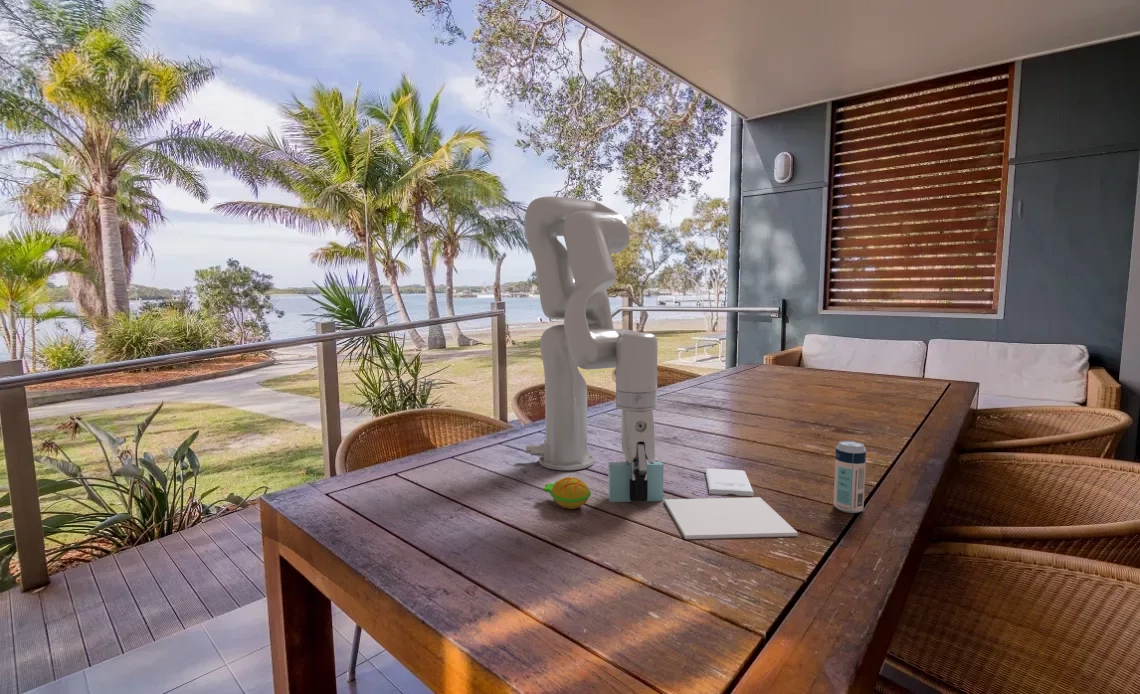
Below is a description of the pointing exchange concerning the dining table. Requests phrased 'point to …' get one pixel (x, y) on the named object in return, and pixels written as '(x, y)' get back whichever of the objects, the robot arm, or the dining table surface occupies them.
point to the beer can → (849, 476)
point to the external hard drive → (728, 482)
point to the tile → (621, 481)
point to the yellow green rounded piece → (569, 492)
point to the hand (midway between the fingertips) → (635, 493)
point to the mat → (727, 518)
